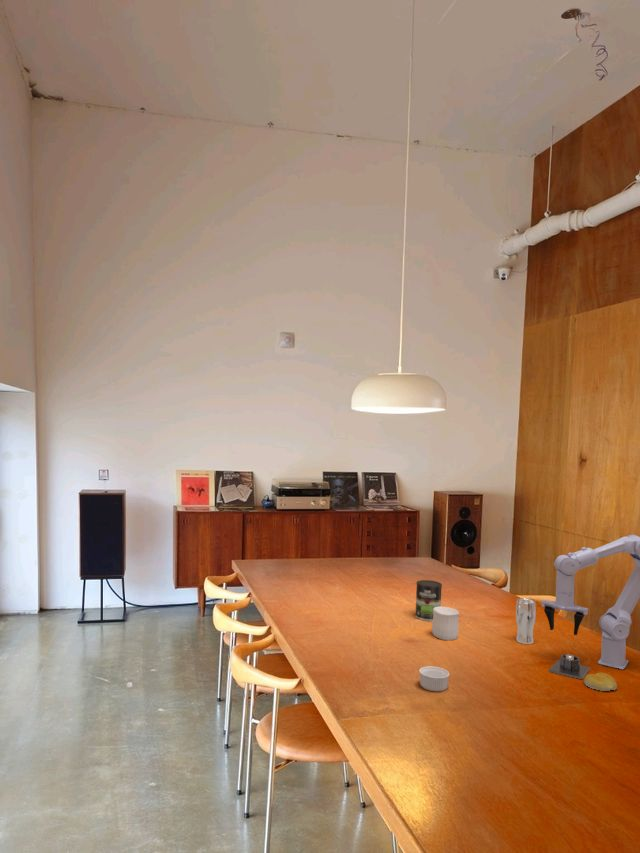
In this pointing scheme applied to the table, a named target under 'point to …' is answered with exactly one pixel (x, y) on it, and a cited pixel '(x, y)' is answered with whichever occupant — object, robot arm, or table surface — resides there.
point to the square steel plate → (559, 670)
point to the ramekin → (434, 678)
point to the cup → (445, 623)
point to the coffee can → (427, 599)
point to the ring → (570, 663)
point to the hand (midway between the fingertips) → (563, 631)
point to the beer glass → (525, 620)
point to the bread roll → (600, 681)
